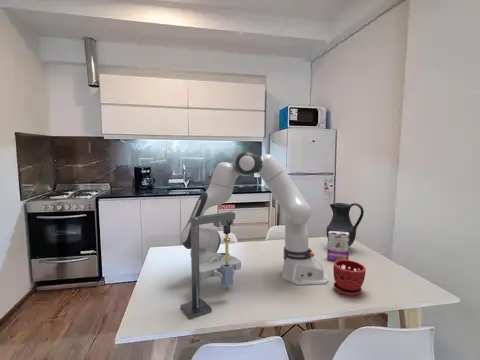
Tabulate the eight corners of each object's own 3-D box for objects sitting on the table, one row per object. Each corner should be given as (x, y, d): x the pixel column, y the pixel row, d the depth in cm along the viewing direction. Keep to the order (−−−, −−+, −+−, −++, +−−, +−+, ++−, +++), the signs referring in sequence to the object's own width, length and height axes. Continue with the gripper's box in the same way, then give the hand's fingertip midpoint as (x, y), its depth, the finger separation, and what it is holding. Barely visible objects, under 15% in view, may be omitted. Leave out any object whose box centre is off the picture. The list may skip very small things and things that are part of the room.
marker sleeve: (228, 281, 124) (228, 263, 123) (232, 284, 121) (232, 266, 120) (220, 283, 122) (220, 265, 121) (225, 287, 119) (225, 268, 118)
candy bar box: (348, 260, 165) (349, 232, 163) (348, 264, 160) (349, 234, 158) (327, 257, 169) (328, 229, 167) (326, 260, 164) (327, 232, 162)
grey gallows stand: (227, 293, 127) (227, 210, 123) (238, 302, 120) (239, 214, 116) (180, 308, 115) (178, 217, 111) (190, 319, 108) (188, 222, 104)
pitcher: (331, 243, 194) (333, 198, 190) (364, 250, 182) (367, 202, 178) (321, 251, 180) (323, 202, 176) (357, 258, 168) (359, 206, 164)
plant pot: (347, 300, 122) (348, 273, 120) (326, 287, 134) (327, 261, 132) (371, 294, 127) (372, 268, 126) (348, 281, 139) (349, 257, 137)
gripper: (190, 261, 125) (205, 273, 114) (231, 252, 137) (248, 261, 125) (190, 275, 126) (205, 288, 115) (231, 265, 137) (248, 276, 126)
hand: (228, 274), depth 120 cm, fingers closed on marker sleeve, 4 cm apart
